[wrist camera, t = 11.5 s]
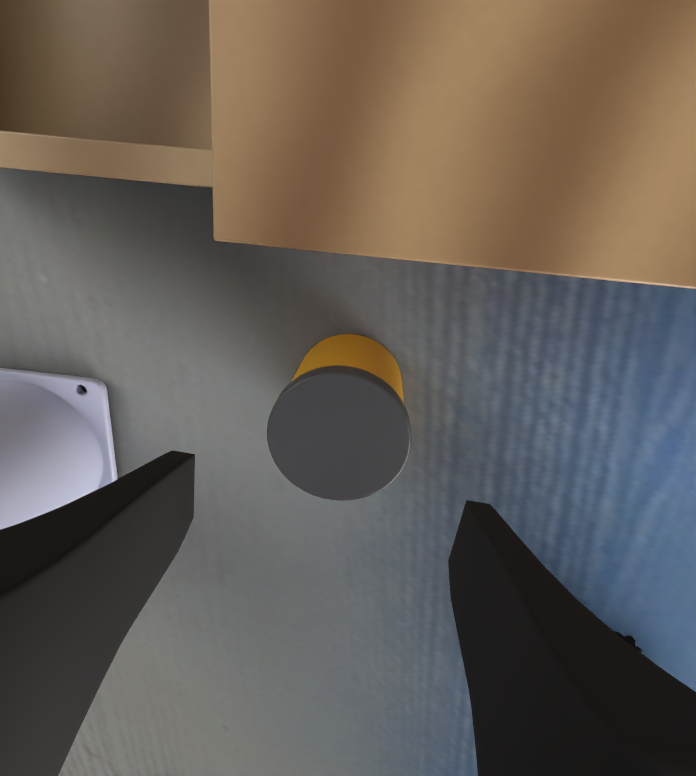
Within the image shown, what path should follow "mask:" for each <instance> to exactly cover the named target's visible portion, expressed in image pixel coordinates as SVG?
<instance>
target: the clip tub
mask: <svg viewBox="0 0 696 776" xmlns="http://www.w3.org/2000/svg"><path fill="white" fill-rule="evenodd" d="M267 440H268V445H269V449H270V452H271V455H272V457H273V459H274V461H275V463H276V465H277V467H278V468H279V470H280V471H281V472H282V473H283V474H284V476H285V477H286V478H287V479H288V480H289V481H291V482H292V483H293V484H294V485H296V486H297V487H299V488H300V489H302V490H304V491H305V492H307V493H310V494H312V495H314V496H317V497H321V498H325V499H330V500H341V501H342V500H354V499H360V498H364V497H367V496H370V495H372V494H375V493H377V492H378V491H380V490H382V489H384V488H385V487H386V486H388V485H389V484H390V483H391V482H392V481H393V480H394V479H395V478H396V477H397V476H398V475H399V473H400V472H401V471H402V469H403V467H404V466H405V464H406V461H407V459H408V456H409V453H410V448H411V428H410V421H409V416H408V413H407V410H406V407H405V405H404V400H403V388H402V377H401V373H400V369H399V367H398V364H397V362H396V361H395V359H394V357H393V356H392V355H391V353H390V352H389V351H388V350H387V349H386V348H385V347H383V346H382V345H381V344H379V343H378V342H376V341H375V340H372V339H370V338H368V337H365V336H361V335H356V334H341V335H336V336H332V337H329V338H326V339H324V340H322V341H320V342H319V343H318V344H316V345H315V346H314V347H313V348H312V349H310V350H309V352H308V353H307V354H306V355H305V357H304V359H303V360H302V362H301V364H300V366H299V368H298V370H297V372H296V374H295V376H294V378H293V380H292V382H291V383H290V384H289V385H287V386H286V388H285V389H284V390H283V391H282V393H281V394H280V396H279V397H278V399H277V401H276V403H275V405H274V406H273V409H272V411H271V413H270V416H269V420H268V426H267Z"/></svg>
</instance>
